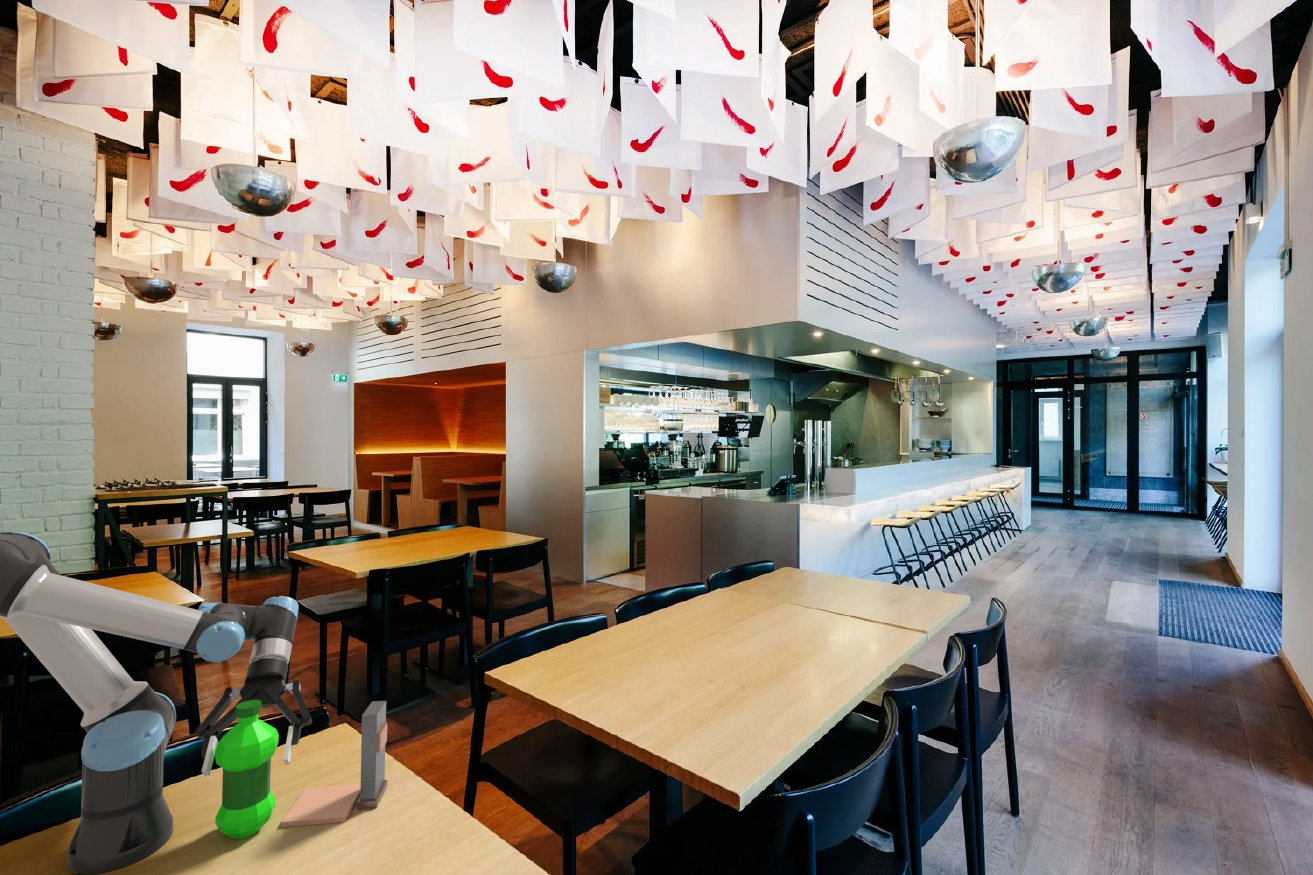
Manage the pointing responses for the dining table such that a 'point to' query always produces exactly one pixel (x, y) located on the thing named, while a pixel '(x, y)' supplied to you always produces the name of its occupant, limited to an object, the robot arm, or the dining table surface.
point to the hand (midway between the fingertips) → (246, 767)
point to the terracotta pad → (323, 805)
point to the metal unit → (373, 755)
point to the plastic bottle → (246, 772)
